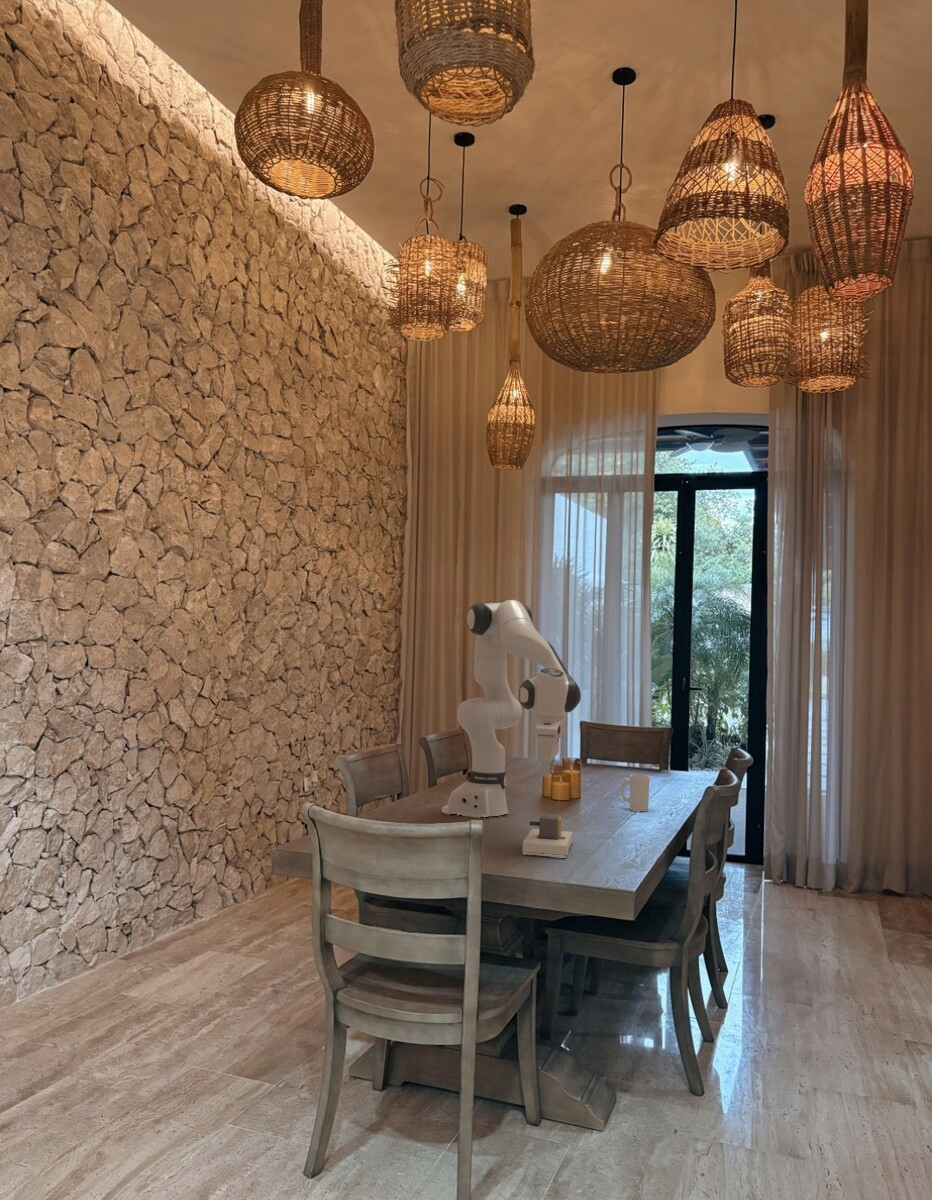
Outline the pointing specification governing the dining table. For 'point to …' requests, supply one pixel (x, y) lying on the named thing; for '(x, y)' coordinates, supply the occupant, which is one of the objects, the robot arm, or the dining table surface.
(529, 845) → the socket block
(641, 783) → the mug
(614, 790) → the dining table surface
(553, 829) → the plug
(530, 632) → the robot arm
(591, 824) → the dining table surface
